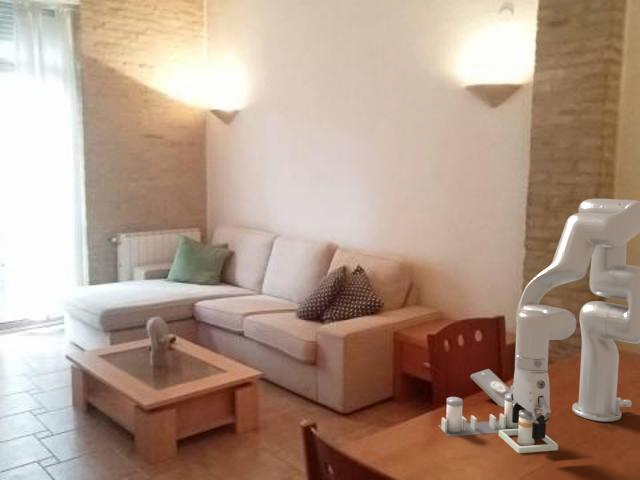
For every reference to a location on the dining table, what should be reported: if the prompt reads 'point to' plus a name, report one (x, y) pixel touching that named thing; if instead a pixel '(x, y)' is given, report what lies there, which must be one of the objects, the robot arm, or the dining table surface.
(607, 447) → the dining table surface
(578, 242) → the robot arm
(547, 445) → the tray
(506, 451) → the dining table surface
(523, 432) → the cylinder
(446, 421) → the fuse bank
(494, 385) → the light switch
